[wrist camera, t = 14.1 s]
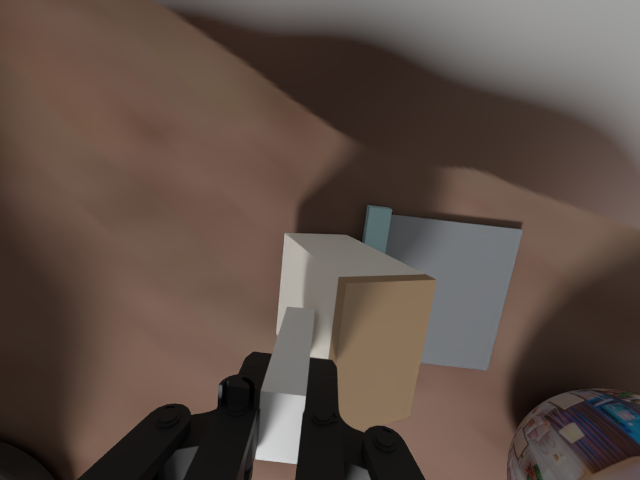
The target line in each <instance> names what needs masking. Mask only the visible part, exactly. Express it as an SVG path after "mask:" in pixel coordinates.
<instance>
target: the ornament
mask: <svg viewBox="0 0 640 480" xmlns="http://www.w3.org/2000/svg"><path fill="white" fill-rule="evenodd" d="M507 480H640V394H638V393H633V392H628V391H623V390H614V389H600V388H596V389H582V390H574V391H569V392H565V393H562V394H559V395H556V396H554V397H552V398H550V399H548V400H546V401H544V402H542V403H541V404H539V405H538V406H536V407H535V408H534V409H533V410H532V411H531V412H529V414H528V415H527V416H526V417H525V418H524V419H523V420H522V422H521V423H520V425H519V426H518V428H517V430H516V432H515V435H514V437H513V440H512V442H511V445H510V449H509V454H508V463H507Z"/></svg>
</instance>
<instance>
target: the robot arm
mask: <svg viewBox="0 0 640 480" xmlns="http://www.w3.org/2000/svg"><path fill="white" fill-rule="evenodd" d="M314 314H315V309H306V308H297V307H288V306H287V308H286V312H285V315H284V318H283V321H282V324H281V328H280V331H279V334H278V337H277V340H276V344H275V347H274V350H273V353H272V354H269V353H260V352H252V353H251V354H250V355H249V356H247V357H246V358H245V360H244V362H243V365H242V367H241V369H240V371H239V374H238V375H233V376H229V377H227V378H225V379H224V380H222V381H221V383H220V384H219V387H218V407H217V409H215V410H213V411H210V412H206V413H201V414H194V415H191V412H190V411H189V409H188V408H187V407H186V406H184V405H182V404H167V405H164V406H162V407H159V408H157V409H156V410H154V411H153V412H151V413H150V414H149V415H148V416H147V417H145V418H144V419H143V420H142V421H141V422H140V423H139V424H138V425H137V426H136V427H135V428H133V429H132V430H131V431H130V432H129V433H128V434H127V435H126V436H125V437H124V438H122V439H121V440H120V441H119V442H118V443H117V444H116V445H115V446H114V447H113V448H111V449H110V450H109V451H108V452H107V453H106V454H105V455H104V456H103V457H102V458H100V459H99V460H98V461H97V462H96V463H95V464H94V465H93V466H92V467H91V468H89V469H88V470H87V471H86V472H85V473H84V474H83V475H82V476H81V477H80V478H78V479H77V480H251V478H252V471H253V461H254V457H255V453H256V459H257V460H266V461H275V462H284V463H292V464H297V469H296V478H295V480H425V478H424V476H423V474H422V473H421V471H420V469H419V467H418V465H417V463H416V462H415V460H414V458H413V456H412V454H411V452H410V451H409V449H408V447H407V445H406V443H405V441H404V440H403V439H402V437H401V436H400V435H399V434H398V433H397V432H395V431H394V430H393V429H390V428H388V427H385V426H373V427H370V428H369V429H368V430H366V431H365V433H364V432H361V431H359V430H356V429H354V428H352V427H350V426H349V425H348V424H347V423H345V421H344V420H343V419H342V417H341V416H340V413H339V401H338V377H337V366H336V365H335V363H334V362H333V360H330V359H321V358H312V357H310V352H311V343H312V333H313V323H314ZM0 480H55V479H54V478H53V477H52V475H51V474H50V473H49V472H48V471H47V470H46V469H45V468H44V467H43V466H42V465H41V464H40V463H39V462H37V461H36V460H35V459H34V458H32V457H31V456H29V455H28V454H26V453H25V452H23V451H21V450H19V449H17V448H15V447H13V446H11V445H8V444H6V443H3V442H0Z"/></svg>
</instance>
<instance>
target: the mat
mask: <svg viewBox="0 0 640 480" xmlns="http://www.w3.org/2000/svg"><path fill="white" fill-rule="evenodd" d="M522 232H523V230H522V229H517V228H509V227H500V226H491V225H482V224H473V223H464V222H456V221H447V220H438V219H429V218H420V217H411V216H403V215H394V214H391V220H390V226H389V232H388V239H387V245H386V251H385V254H386V255H388V256H390V257H392V258H394V259H396V260H398V261H400V262H402V263H404V264H406V265H408V266H410V267H412V268H414V269H416V270H418V271H420V272H422V273H424V274H426V275H428V276H430V277H432V278H434V279H436V280H437V282H436V287H435V292H434V297H433V302H432V307H431V312H430V317H429V322H428V327H427V332H426V337H425V342H424V347H423V352H422V357H421V362H420V363H426V364H435V365H444V366H453V367H461V368H470V369H479V370H487V369H488V366H489V362H490V358H491V354H492V350H493V346H494V342H495V338H496V334H497V330H498V326H499V322H500V318H501V314H502V311H503V307H504V303H505V299H506V295H507V291H508V287H509V283H510V279H511V275H512V271H513V267H514V263H515V260H516V256H517V252H518V248H519V244H520V240H521V236H522Z"/></svg>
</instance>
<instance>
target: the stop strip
mask: <svg viewBox="0 0 640 480" xmlns="http://www.w3.org/2000/svg"><path fill="white" fill-rule="evenodd" d="M391 214H392V209H390V208H389V207H381V206H372V205H367V211H366V218H365V225H364V232H363V239H362V243H364V244H366V245H368V246H370V247H372V248H374V249H376V250H378V251H380V252H382V253H384V254H385V251H386V245H387V239H388V232H389V226H390V220H391Z"/></svg>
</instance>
